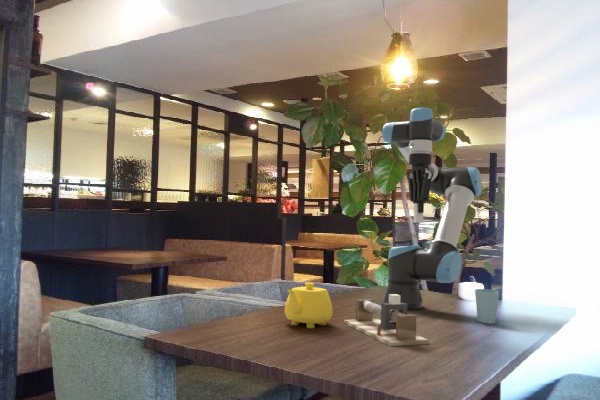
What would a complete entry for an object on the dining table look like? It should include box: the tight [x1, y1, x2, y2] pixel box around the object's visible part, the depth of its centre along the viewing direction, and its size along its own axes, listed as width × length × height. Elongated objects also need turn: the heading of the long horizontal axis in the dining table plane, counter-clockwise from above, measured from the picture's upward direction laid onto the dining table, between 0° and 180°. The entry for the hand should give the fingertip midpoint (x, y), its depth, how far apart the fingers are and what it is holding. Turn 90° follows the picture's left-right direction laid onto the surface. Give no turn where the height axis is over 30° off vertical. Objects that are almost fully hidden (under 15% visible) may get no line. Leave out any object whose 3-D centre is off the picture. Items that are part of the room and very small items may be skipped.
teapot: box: [284, 282, 334, 329], centre depth 161 cm, size 14×20×13 cm
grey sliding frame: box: [380, 294, 408, 330], centre depth 148 cm, size 2×7×10 cm, turn 109°
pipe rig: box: [343, 298, 430, 347], centre depth 154 cm, size 29×12×8 cm, turn 20°
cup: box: [474, 288, 500, 324], centre depth 175 cm, size 8×8×10 cm
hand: (418, 222), depth 178 cm, fingers closed
